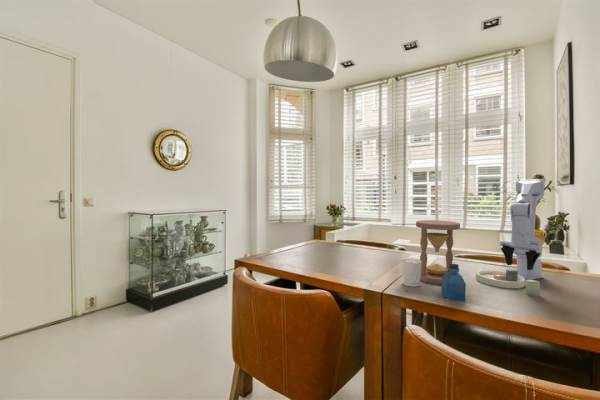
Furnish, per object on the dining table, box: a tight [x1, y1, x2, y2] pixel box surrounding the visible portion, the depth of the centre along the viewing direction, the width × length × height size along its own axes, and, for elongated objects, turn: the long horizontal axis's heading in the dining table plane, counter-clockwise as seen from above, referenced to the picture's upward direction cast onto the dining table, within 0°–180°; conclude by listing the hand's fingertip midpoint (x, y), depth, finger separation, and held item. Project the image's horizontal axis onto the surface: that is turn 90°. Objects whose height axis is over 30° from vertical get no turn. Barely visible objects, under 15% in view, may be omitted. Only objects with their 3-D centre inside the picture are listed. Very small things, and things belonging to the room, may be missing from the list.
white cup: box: [401, 257, 422, 288], centre depth 121 cm, size 8×8×10 cm
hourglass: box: [415, 219, 461, 286], centre depth 128 cm, size 18×18×25 cm
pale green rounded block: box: [525, 279, 541, 297], centre depth 109 cm, size 4×4×5 cm
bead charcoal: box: [505, 268, 518, 281], centre depth 120 cm, size 4×4×5 cm
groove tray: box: [475, 269, 526, 289], centre depth 125 cm, size 17×17×2 cm
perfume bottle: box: [441, 263, 467, 302], centre depth 107 cm, size 6×6×12 cm
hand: (519, 267), depth 116 cm, fingers open, 7 cm apart
